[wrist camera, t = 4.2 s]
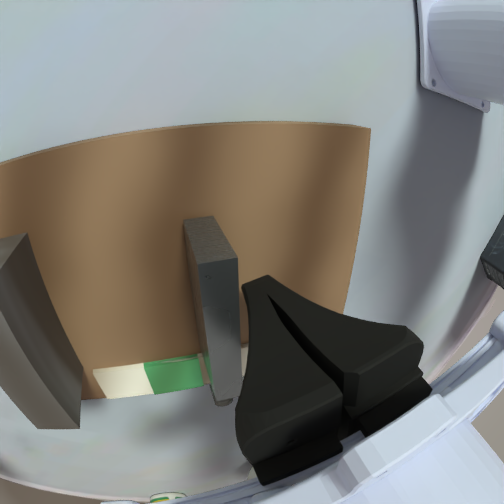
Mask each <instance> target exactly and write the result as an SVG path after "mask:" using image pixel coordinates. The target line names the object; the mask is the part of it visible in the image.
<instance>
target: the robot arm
mask: <svg viewBox="0 0 504 504" xmlns="http://www.w3.org/2000/svg"><path fill="white" fill-rule="evenodd" d="M417 7H418V18H419V34H420V82H421V85H422V86H423V87H424V88H426V89H429V90H432V91H434V92H437V93H440V94H443V95H445V96H448V97H450V98H453V99H455V100H458V101H460V102H463V103H465V104H468V105H470V106H472V107H474V108H477V109H479V110H481V111H483V112H486V113H488V112H489V111H490V102H494V103H498V104H502V105H504V0H417ZM241 289H242V293H243V296H244V299H245V302H246V305H247V312H248V324H249V343H248V355H247V364H246V370H245V375H244V380H243V384H242V389H241V392H240V396H239V399H238V402H237V405H236V408H235V428H236V437H237V441H238V444H239V446H240V449H241V451H242V454H243V455H244V456H245V457H246V458H247V460H248V461H249V462H250V463H251V464H252V466H253V468H254V471H255V473H256V476H257V477H255V478H252V479H249V480H246V481H243V482H240V483H237V484H234V485H230V486H227V487H223V488H220V489H216V490H212V491H208V492H204V493H200V494H196V495H192V496H187V497H182V498H177V499H172V500H166V501H160V502H154V503H147V504H504V463H503V462H502V461H501V460H500V458H499V457H498V456H497V454H496V453H495V452H494V451H493V450H492V448H491V447H490V446H489V445H488V443H487V442H486V441H485V440H484V439H483V437H482V436H481V435H480V434H479V433H478V431H477V430H476V429H475V428H474V427H473V425H472V424H471V422H472V421H473V420H474V419H475V418H476V417H477V416H478V415H479V414H480V413H481V412H482V411H483V410H484V409H485V408H486V407H487V406H488V405H489V404H490V403H491V401H492V400H493V399H494V398H495V397H496V396H497V395H498V394H499V392H500V391H501V390H502V389H503V388H504V310H503V311H502V312H501V314H499V316H498V317H497V318H496V319H495V320H494V322H493V324H492V326H491V328H490V332H489V333H488V334H487V335H486V336H485V337H484V338H483V339H482V340H481V341H480V342H479V343H478V344H476V345H475V346H474V347H473V348H472V349H471V350H470V351H469V352H468V353H467V354H466V355H465V356H463V357H462V358H461V359H460V360H459V361H458V362H456V363H455V364H454V365H453V366H452V367H451V368H449V369H448V370H447V371H446V372H445V373H443V374H442V375H441V376H440V377H438V378H437V379H436V380H434V381H433V382H432V383H430V384H428V383H427V382H426V381H425V380H424V379H423V377H422V375H423V372H422V371H421V369H420V368H419V367H418V365H419V362H420V359H421V356H422V353H423V349H424V345H423V342H422V341H421V340H420V339H419V338H418V337H417V336H416V335H415V334H414V333H413V332H412V331H411V330H410V329H408V328H407V327H406V326H402V325H391V324H382V323H376V322H371V321H366V320H361V319H358V318H354V317H350V316H347V315H343V314H340V313H337V312H335V311H332V310H330V309H327V308H325V307H323V306H320V305H318V304H316V303H314V302H312V301H310V300H308V299H306V298H305V297H303V296H301V295H299V294H298V293H296V292H294V291H292V290H291V289H289V288H288V287H286V286H285V285H283V284H281V283H280V282H279V281H277V280H276V279H274V278H273V277H271V276H270V275H268V274H267V275H265V276H262V277H260V278H257V279H254V280H252V281H249V282H247V283H244V284H242V286H241ZM294 484H295V485H294ZM292 485H293V486H292ZM101 504H139V503H138V502H135V501H132V500H118V501H105V502H101Z"/></svg>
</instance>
